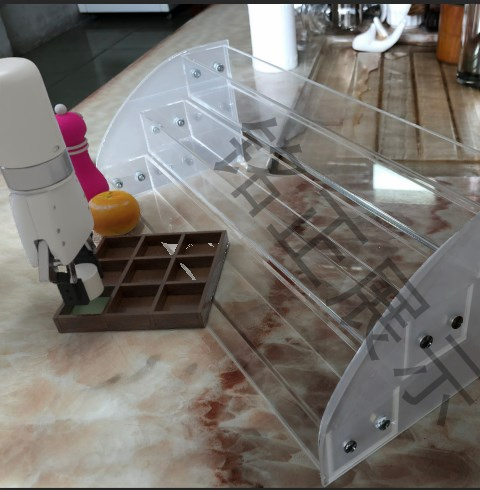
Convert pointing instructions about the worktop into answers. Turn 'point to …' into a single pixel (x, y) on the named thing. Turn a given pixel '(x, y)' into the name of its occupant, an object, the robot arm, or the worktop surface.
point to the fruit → (114, 213)
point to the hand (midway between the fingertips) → (85, 290)
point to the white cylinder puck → (90, 279)
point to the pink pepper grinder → (80, 152)
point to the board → (150, 283)
